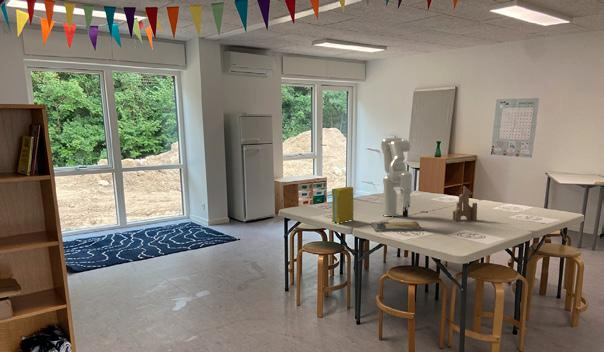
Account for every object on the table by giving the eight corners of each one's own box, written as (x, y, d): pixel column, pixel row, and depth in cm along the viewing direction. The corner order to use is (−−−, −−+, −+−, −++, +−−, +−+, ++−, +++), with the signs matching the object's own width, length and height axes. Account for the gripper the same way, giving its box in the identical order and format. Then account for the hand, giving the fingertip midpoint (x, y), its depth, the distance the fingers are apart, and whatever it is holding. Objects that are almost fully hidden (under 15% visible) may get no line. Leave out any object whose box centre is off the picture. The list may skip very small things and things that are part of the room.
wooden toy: (456, 221, 293) (456, 187, 290) (452, 219, 300) (453, 185, 297) (477, 221, 293) (478, 186, 290) (473, 219, 300) (474, 185, 297)
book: (338, 224, 292) (337, 189, 289) (332, 222, 297) (331, 188, 294) (355, 220, 302) (355, 187, 299) (349, 219, 307) (349, 186, 304)
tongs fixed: (376, 227, 276) (376, 222, 276) (416, 226, 276) (416, 221, 276) (378, 229, 271) (378, 224, 270) (419, 228, 271) (419, 223, 270)
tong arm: (376, 226, 278) (376, 221, 277) (416, 226, 277) (416, 221, 277) (377, 228, 272) (377, 223, 272) (418, 228, 272) (418, 223, 271)
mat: (370, 223, 291) (370, 222, 291) (414, 223, 291) (414, 221, 291) (375, 231, 269) (375, 230, 269) (423, 230, 269) (423, 229, 269)
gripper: (397, 188, 286) (397, 213, 289) (403, 192, 271) (402, 219, 274) (408, 188, 286) (407, 213, 289) (414, 192, 271) (413, 219, 274)
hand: (405, 216), depth 282 cm, fingers closed
